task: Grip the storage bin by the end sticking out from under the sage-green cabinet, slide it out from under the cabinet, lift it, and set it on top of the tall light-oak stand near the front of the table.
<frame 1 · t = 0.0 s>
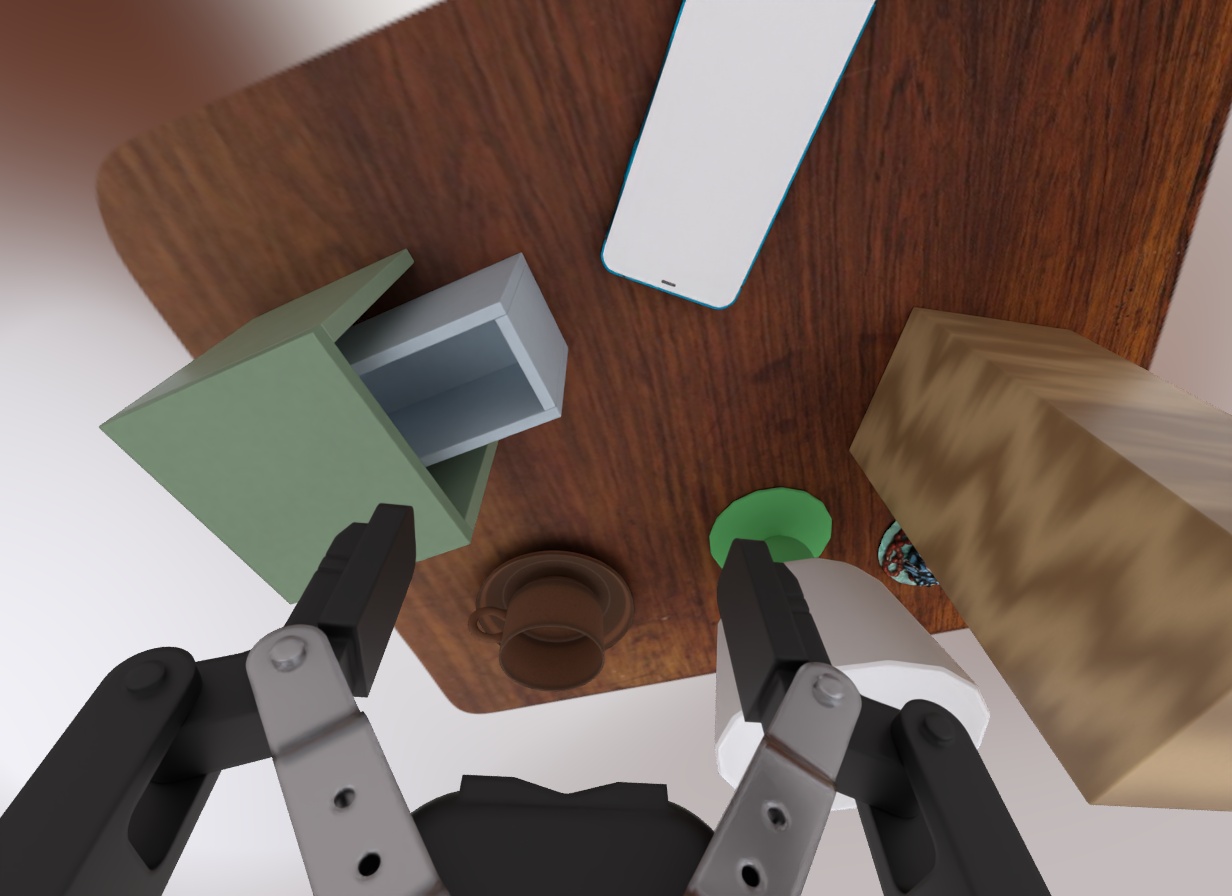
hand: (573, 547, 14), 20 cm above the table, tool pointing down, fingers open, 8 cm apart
smartphone: (724, 129, 27), on the table
dish: (937, 539, 43), on the table
cabinet: (387, 369, 33), on the table
cup and saucer: (557, 590, 44), on the table
bin: (438, 347, 33), on the table
stand: (952, 393, 35), on the table
cup: (768, 533, 42), on the table
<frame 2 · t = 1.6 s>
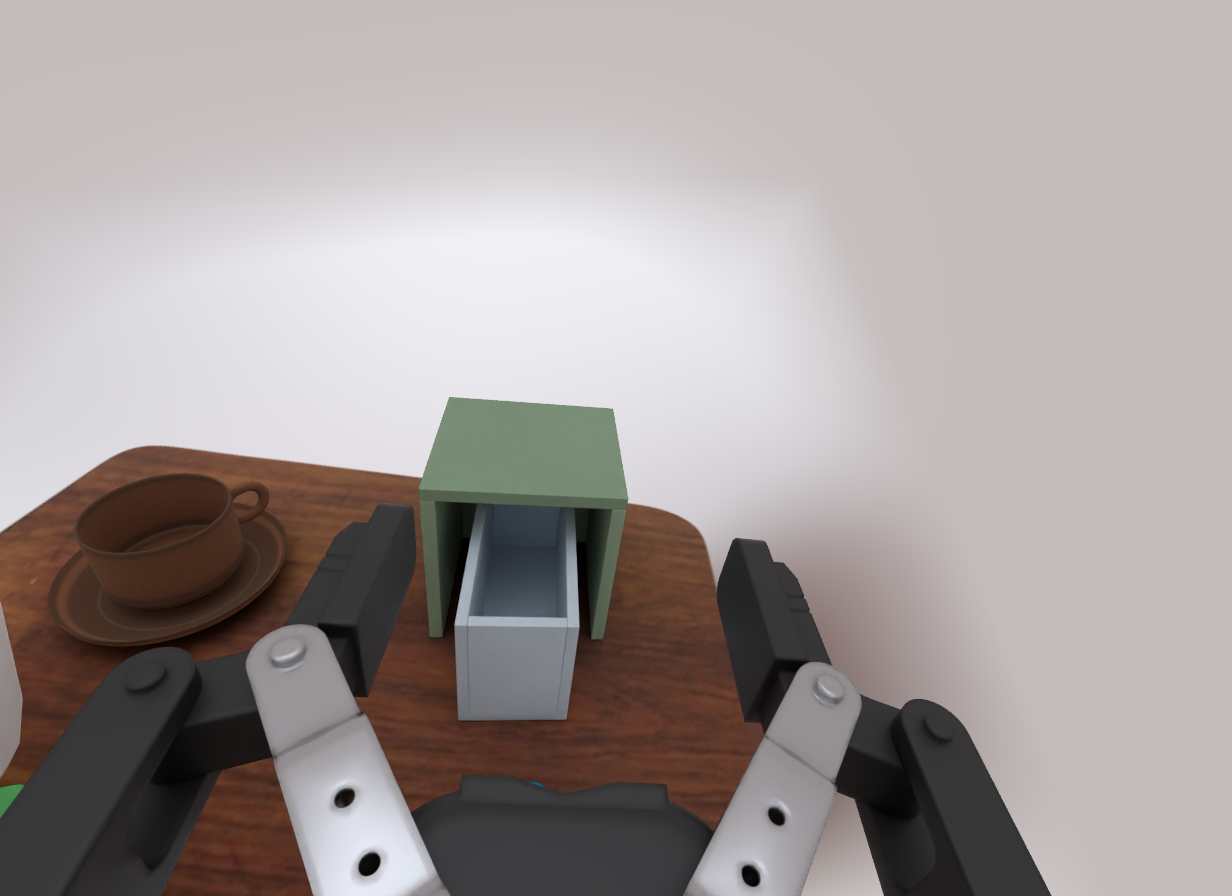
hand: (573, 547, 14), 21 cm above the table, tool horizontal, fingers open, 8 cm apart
cabinet: (522, 580, 40), on the table
cup and saucer: (187, 585, 36), on the table
bin: (519, 620, 37), on the table
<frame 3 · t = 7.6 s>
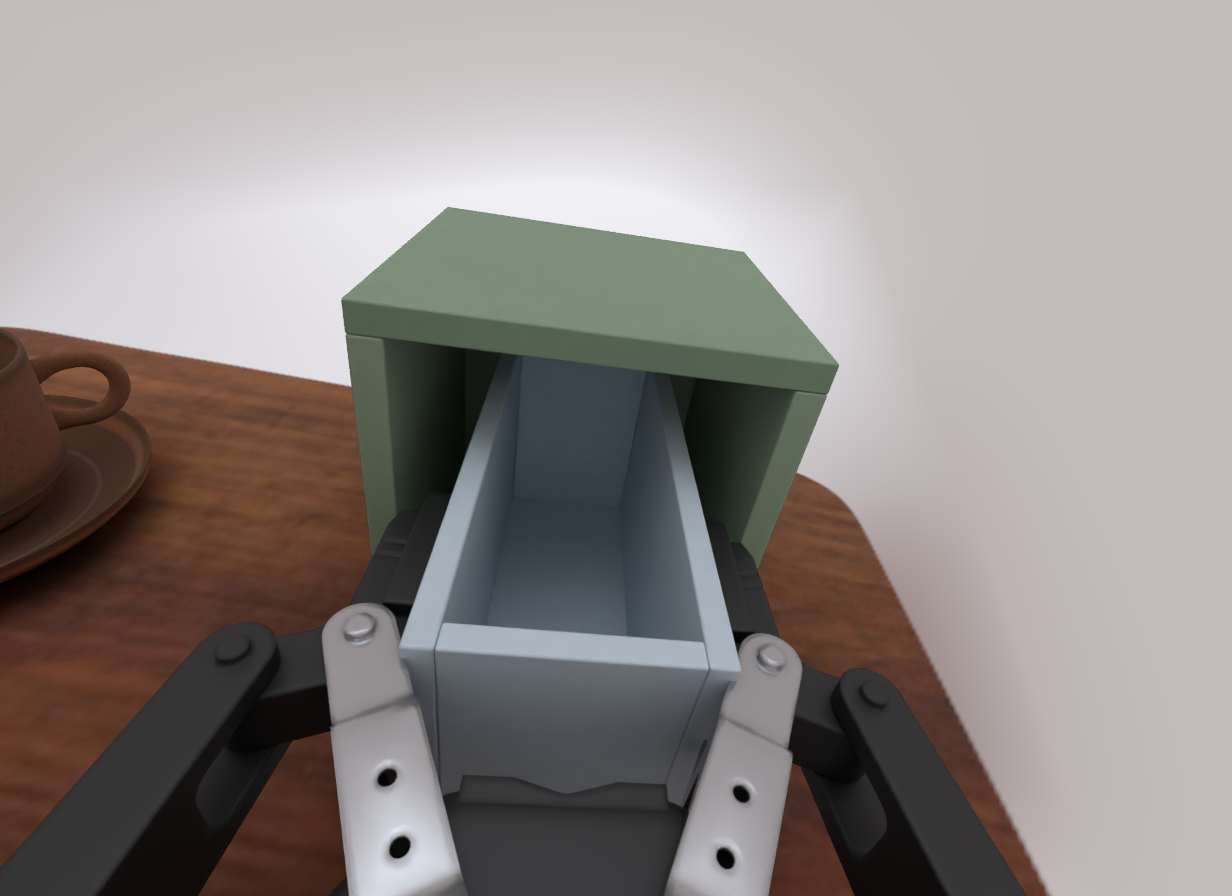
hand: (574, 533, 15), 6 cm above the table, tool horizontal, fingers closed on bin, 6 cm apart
cabinet: (561, 559, 23), on the table
bin: (556, 629, 20), on the table, touching gripper
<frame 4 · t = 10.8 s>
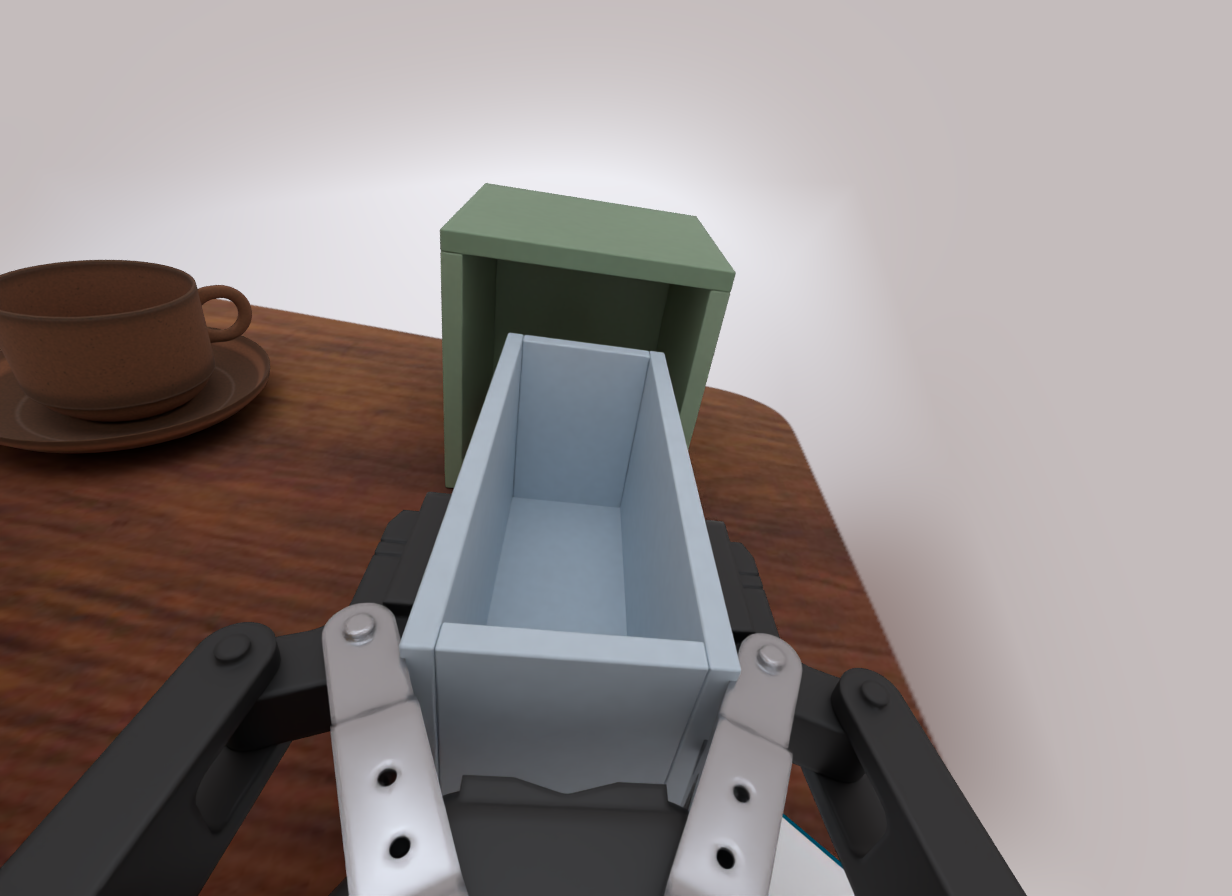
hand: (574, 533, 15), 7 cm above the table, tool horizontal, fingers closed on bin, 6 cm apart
cabinet: (565, 442, 31), on the table
cup and saucer: (139, 409, 28), on the table
bin: (556, 629, 20), point 1 cm above the table, touching gripper
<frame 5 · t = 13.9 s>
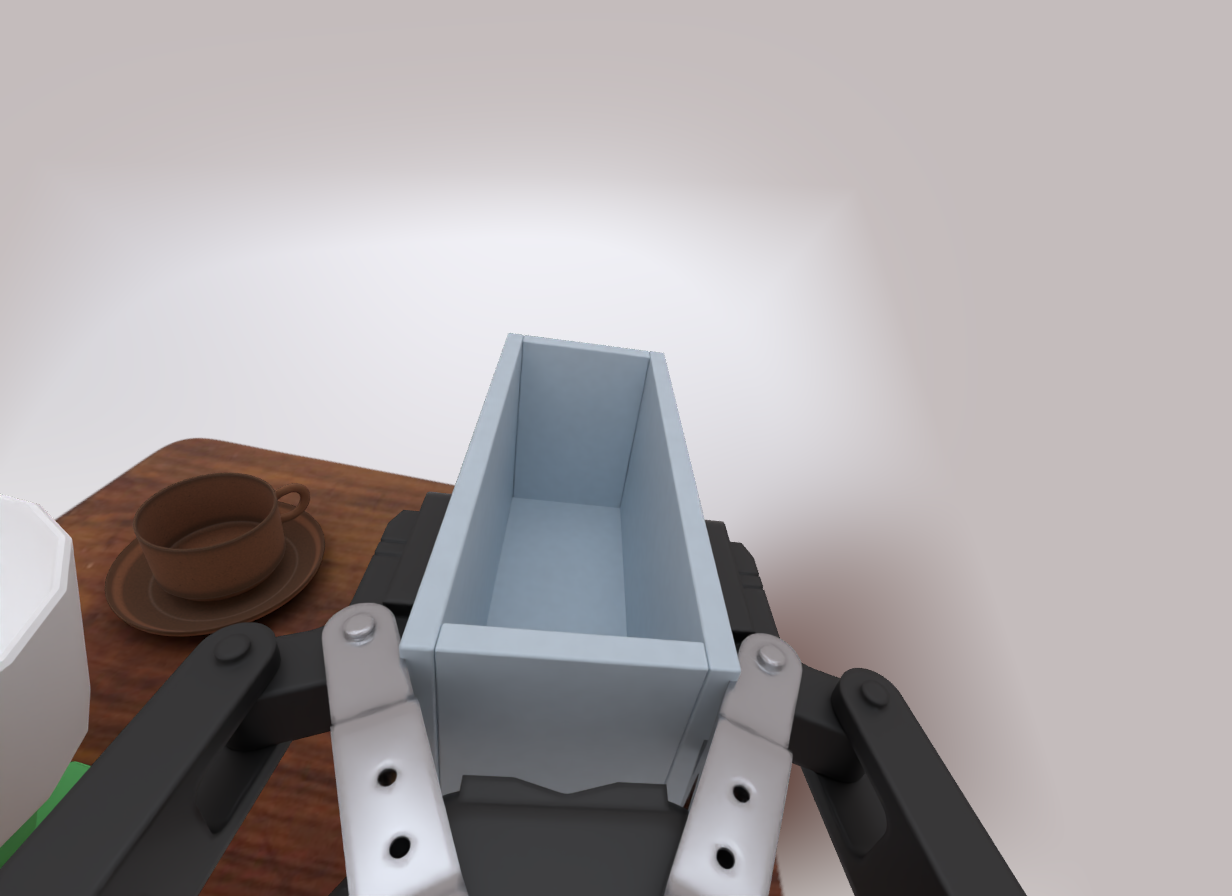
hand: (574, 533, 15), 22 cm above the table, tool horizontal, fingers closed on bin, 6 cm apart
cup and saucer: (230, 579, 38), on the table
bin: (556, 629, 20), point 16 cm above the table, touching gripper
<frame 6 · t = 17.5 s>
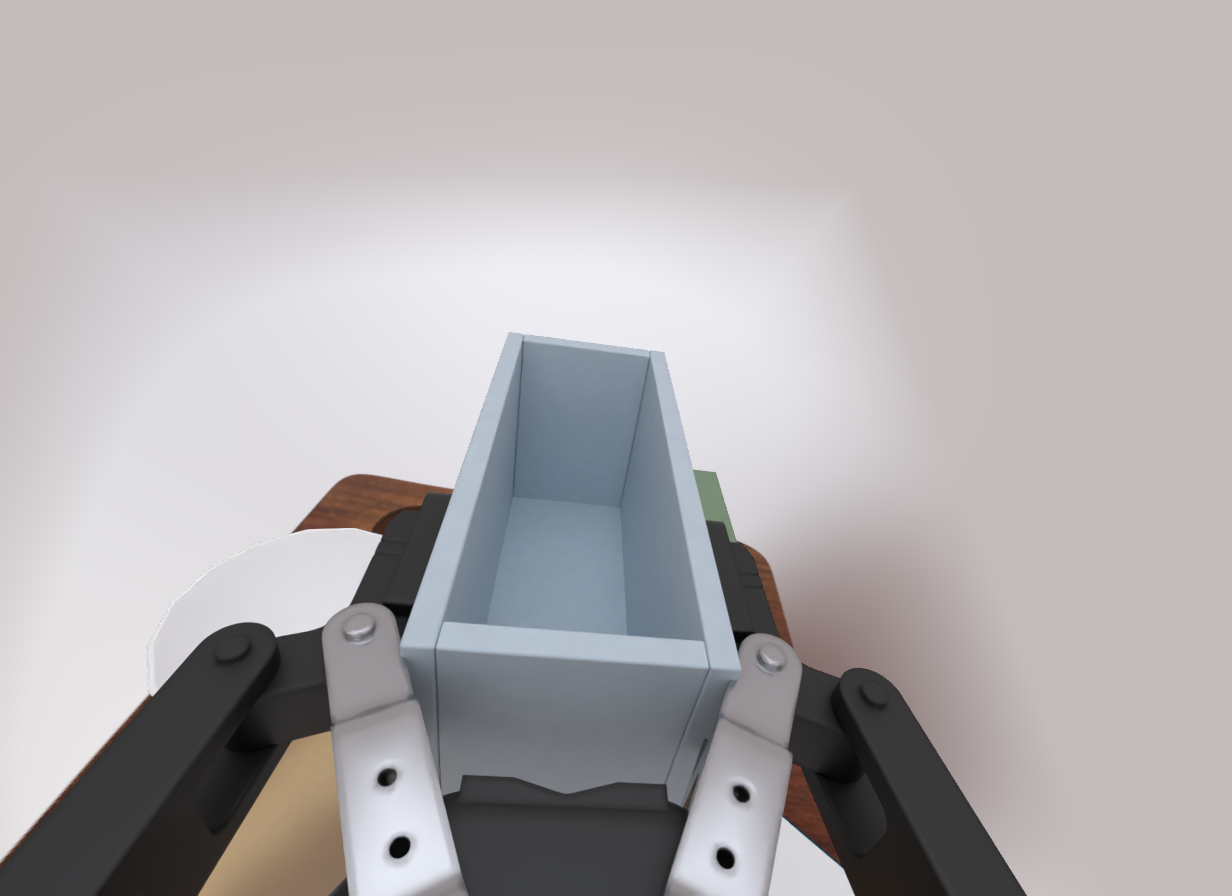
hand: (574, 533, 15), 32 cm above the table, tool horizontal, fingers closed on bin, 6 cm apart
smartphone: (728, 848, 38), on the table
cabinet: (642, 591, 56), on the table
cup and saucer: (418, 582, 53), on the table
bin: (557, 629, 20), point 25 cm above the table, touching gripper
cup: (342, 768, 39), on the table
when the fingers open (28 cm above the table, at t = 20.4 s): bin stays where it is, resting on stand.
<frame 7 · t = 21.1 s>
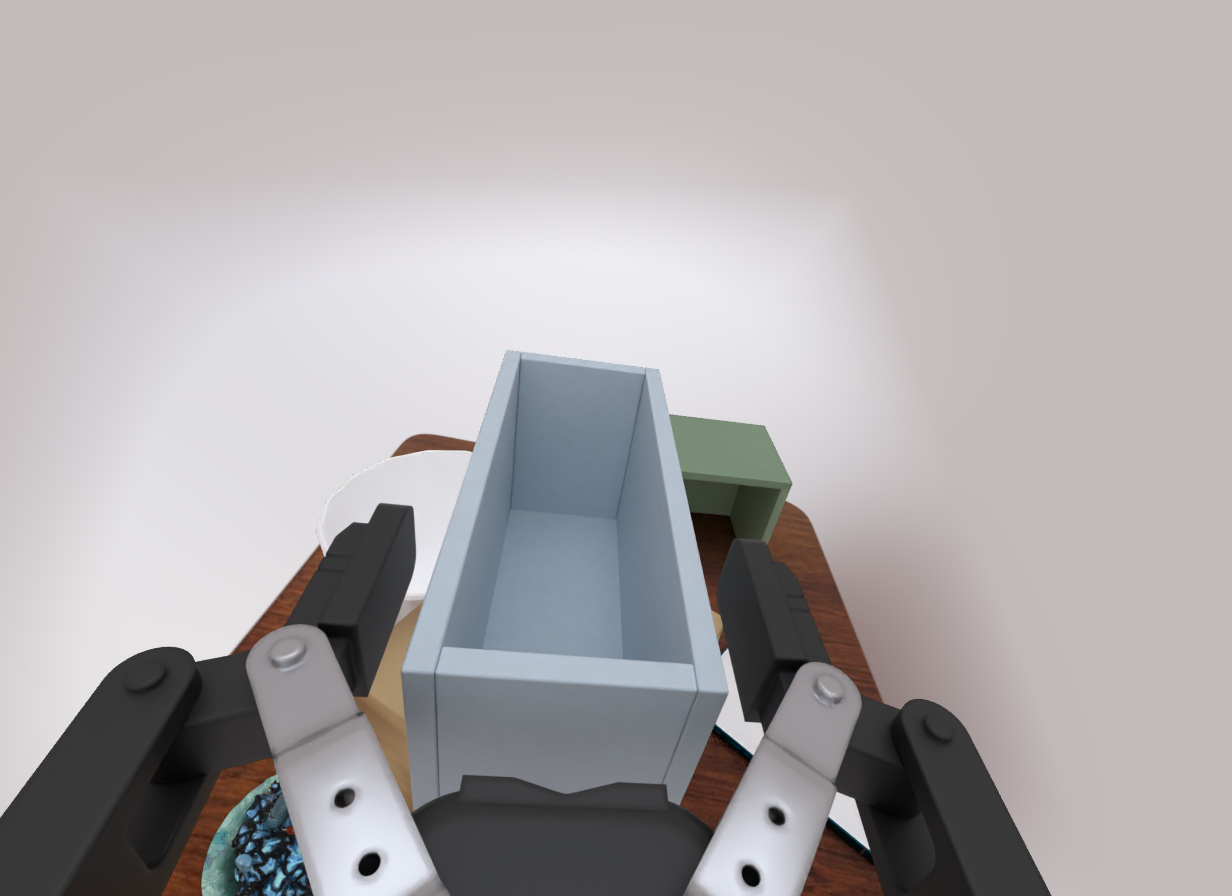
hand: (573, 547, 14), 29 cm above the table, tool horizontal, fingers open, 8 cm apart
smartphone: (794, 744, 42), on the table
dish: (298, 844, 32), on the table
cabinet: (694, 537, 60), on the table
bin: (553, 641, 20), point 22 cm above the table, touching stand
stand: (518, 887, 32), on the table
cup: (445, 672, 43), on the table
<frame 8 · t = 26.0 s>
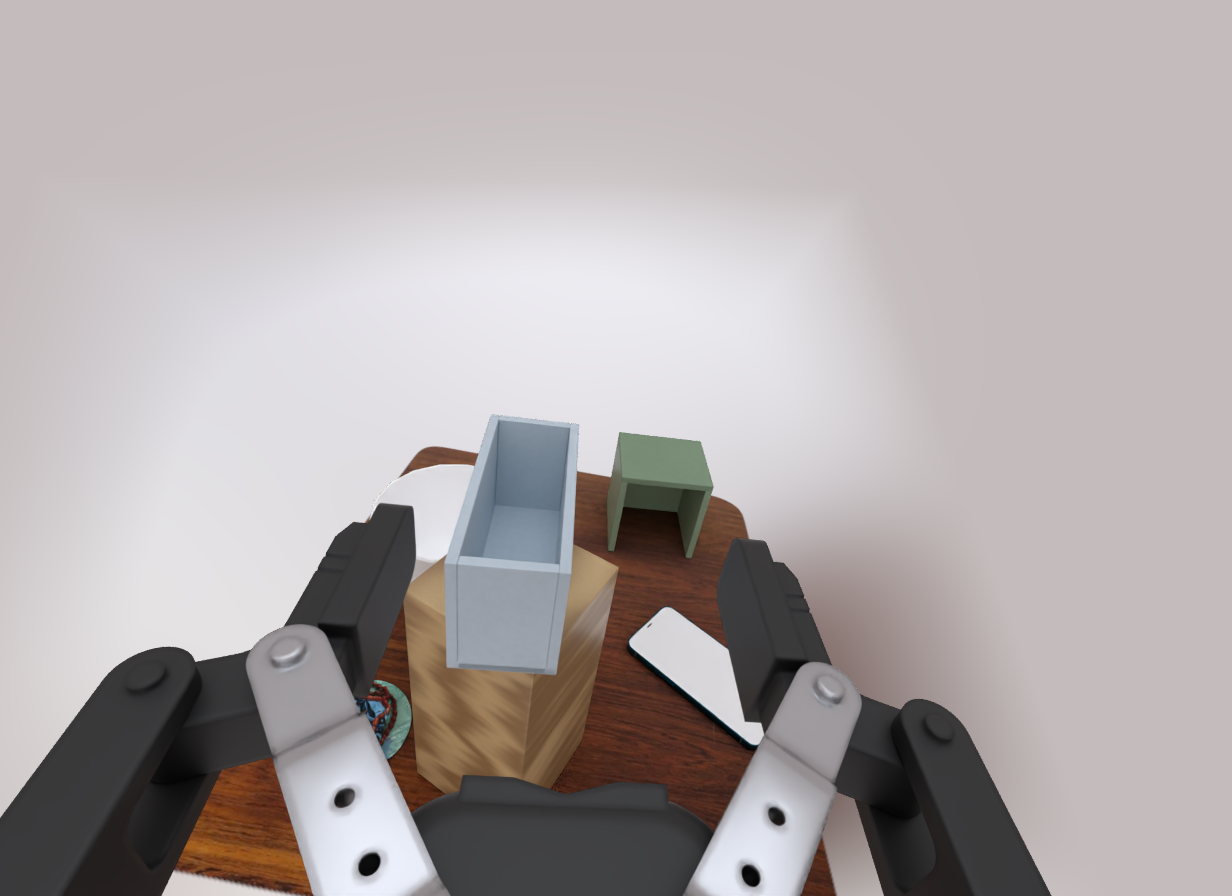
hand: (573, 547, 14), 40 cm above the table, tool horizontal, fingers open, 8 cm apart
smartphone: (704, 675, 59), on the table
dish: (356, 727, 49), on the table
cabinet: (647, 528, 77), on the table
bin: (516, 577, 37), point 22 cm above the table, touching stand
stand: (503, 755, 49), on the table
cup: (453, 624, 59), on the table
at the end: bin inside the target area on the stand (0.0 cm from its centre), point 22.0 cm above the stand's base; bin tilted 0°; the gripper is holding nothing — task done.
